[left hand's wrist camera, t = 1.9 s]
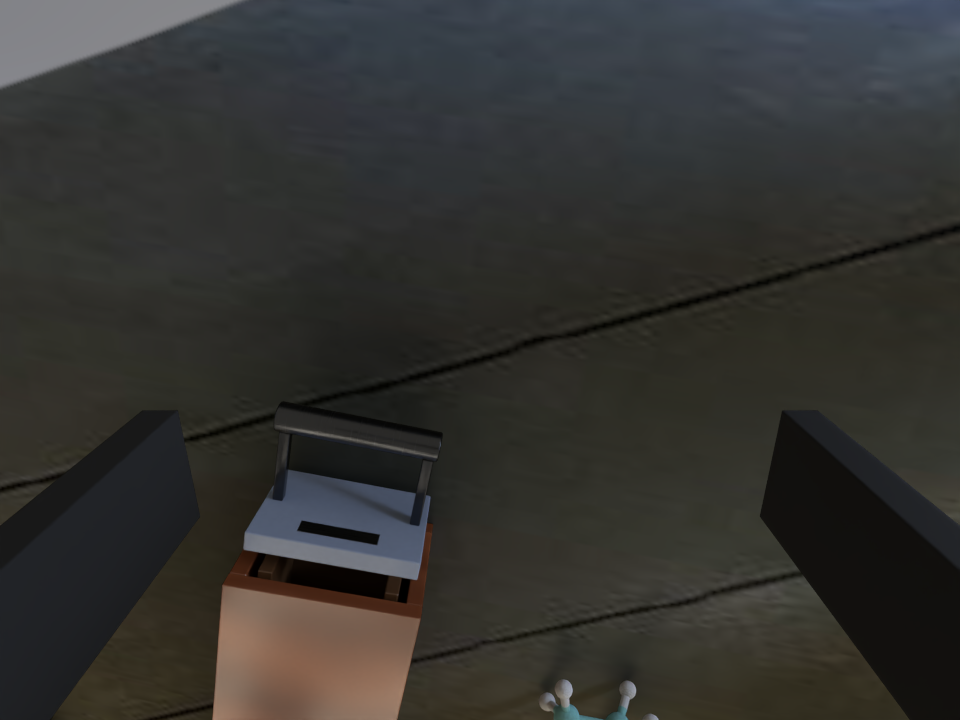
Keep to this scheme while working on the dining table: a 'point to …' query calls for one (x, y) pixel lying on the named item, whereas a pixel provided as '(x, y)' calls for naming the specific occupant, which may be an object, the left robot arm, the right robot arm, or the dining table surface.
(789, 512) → the left robot arm
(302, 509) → the drawer
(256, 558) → the cabinet
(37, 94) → the dining table surface
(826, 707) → the dining table surface
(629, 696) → the molecular model
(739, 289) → the dining table surface
